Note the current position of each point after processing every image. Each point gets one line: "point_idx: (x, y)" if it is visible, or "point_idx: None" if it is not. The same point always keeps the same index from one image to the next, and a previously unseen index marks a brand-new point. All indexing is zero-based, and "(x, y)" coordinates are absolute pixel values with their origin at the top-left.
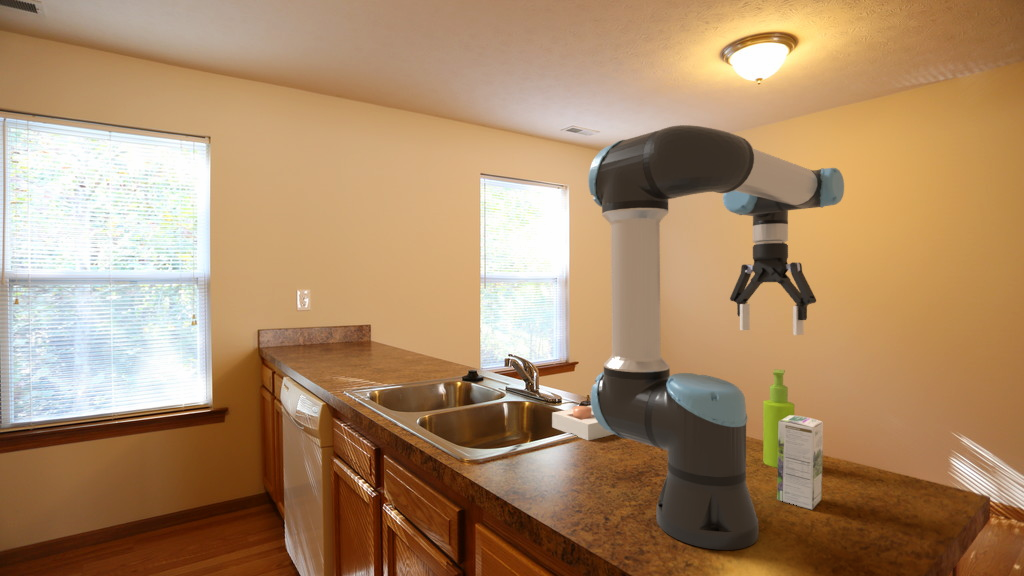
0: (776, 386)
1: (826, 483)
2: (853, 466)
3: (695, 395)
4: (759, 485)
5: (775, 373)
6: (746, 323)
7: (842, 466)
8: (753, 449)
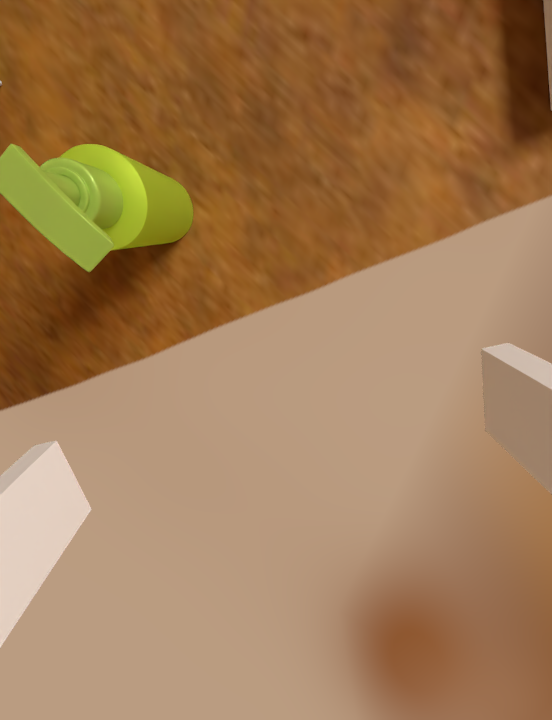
0: (48, 169)
1: None
2: (122, 350)
3: None
4: (43, 43)
5: (7, 151)
6: (517, 424)
7: (125, 330)
8: (260, 229)
